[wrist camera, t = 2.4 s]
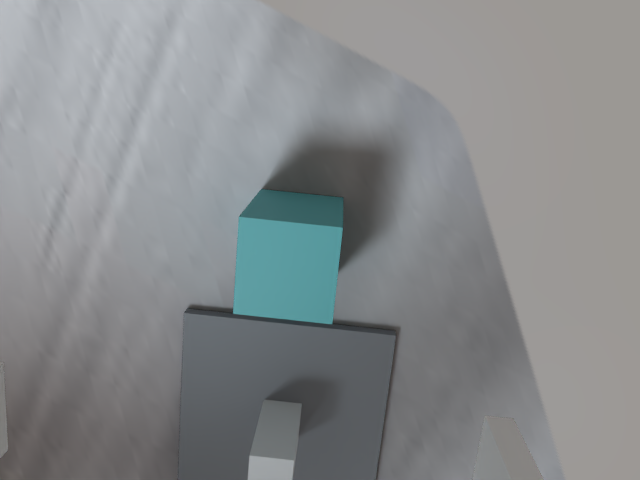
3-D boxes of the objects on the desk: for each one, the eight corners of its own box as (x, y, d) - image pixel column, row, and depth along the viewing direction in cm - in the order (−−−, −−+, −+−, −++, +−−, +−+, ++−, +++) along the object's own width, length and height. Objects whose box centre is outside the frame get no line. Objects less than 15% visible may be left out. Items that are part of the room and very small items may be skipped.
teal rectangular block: (255, 267, 38) (232, 313, 30) (261, 188, 37) (239, 216, 29) (334, 275, 38) (332, 324, 30) (343, 197, 36) (342, 227, 29)
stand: (180, 485, 42) (149, 561, 36) (187, 308, 39) (153, 355, 32) (370, 507, 42) (374, 587, 35) (395, 330, 39) (405, 382, 32)
